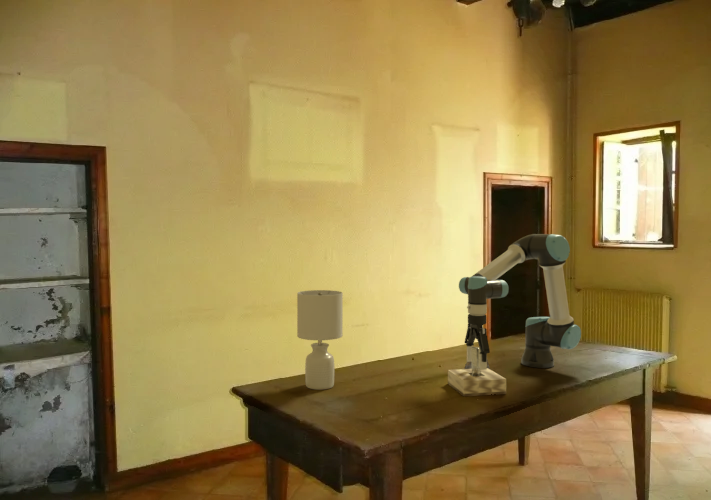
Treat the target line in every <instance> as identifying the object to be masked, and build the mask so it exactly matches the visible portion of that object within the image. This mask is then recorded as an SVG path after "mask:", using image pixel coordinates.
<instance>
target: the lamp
mask: <svg viewBox="0 0 711 500" xmlns="http://www.w3.org/2000/svg"><path fill="white" fill-rule="evenodd" d="M343 293H344V292H342V291H339V290H330V289H329V290H328V289H323V290H322V289H316V290H315V289H312V290H303V291H298V292H297V295H296V296H297V297H296V298H297V299H296V300H297V303H296V304H297V305H296V306H297V307H296V308H297V314H296V315H297V317H296V319H297V320H296V321H297V324H296V325H297V326H296V327H297V328H296V329H297V333H296V335H297V336H296V337H297V338H298V339H301V340H307V341H317V342H313V343H311V344H310V346H311V348H312V351H311V352H310V353H308V354H307V355H306V357H305V365H304V368H305V369H304V371H305V378H304V379H305V386H306V388H308V389H309V390H315V391H320V390H321V391H322V390H329V389H332V388H333V387H334V386H335V358H334V355H333V354H331V353H330V352H329V351H328V347H329V346H330V345H329V343H327V342H323V341H331V340H332V341H333V340H337V339H340V338H342V337H343V307H344V306H343V299H344V297H343V296H344V295H343Z"/></svg>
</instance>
